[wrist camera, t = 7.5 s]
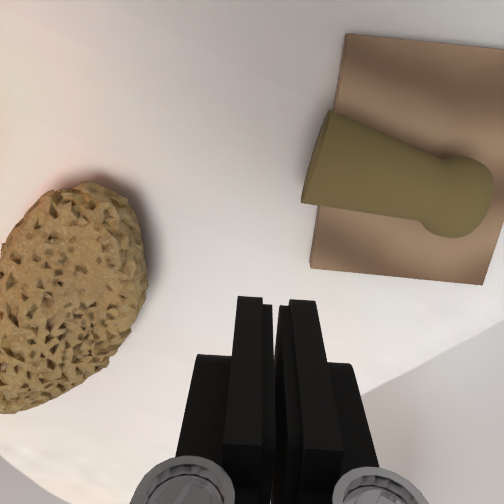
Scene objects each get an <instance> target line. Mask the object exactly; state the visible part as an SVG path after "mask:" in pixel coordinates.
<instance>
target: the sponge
mask: <svg viewBox="0 0 504 504" xmlns="http://www.w3.org/2000/svg"><path fill="white" fill-rule="evenodd" d="M147 287H148V281H147V265H146V263H145V258H144V247H143V242H142V239H141V230H140V226H139V223H138V220H137V216H136V214H135V212H134V210H133V209H132V208H131V206H130V205H129V204H128V198H124V197H123V196H121V195H119V194H118V193H116V192H115V191H113V190H111V189H108V188H106V187H103V186H101V185H99V184H96V183H94V182H92V181H88V182H81V183H80V184H79V185H78V186H76V187H74V188H72V189H64V188H63V189H60V190H58V191H56V192H55V191H54V190H51V191H48V192H47V193H45V194H44V195H42V196H41V197H40V198H39V200H38V201H37V202H36V203H35V204H34V205H33V206H32V207H31V208H30V209H29V210H28V211H27V212H26V214H25V215H24V218H23V219H22V220H21V221H20V222H19V223H17V224H16V225H15V227H14V228H13V230H12V231H11V233H10V234H9V236H8V237H7V240H6V243H3V244H2V249H1V259H0V414H15V413H17V412H18V411H23V410H27V409H30V408H33V407H36V406H39V405H40V404H44V403H46V402H47V401H49V400H52V399H54V398H57V397H58V396H60V395H61V394H64V393H66V392H67V391H69V390H71V389H72V388H74V387H76V386H78V385H80V384H82V383H83V382H84V381H85V380H86V379H87V378H88V377H90V376H91V375H93V374H95V373H97V372H99V371H100V370H101V369H102V368H106V367H107V366H108V364H109V357H110V356H113V355H115V353H116V352H117V349H118V348H119V347H120V346H121V344H122V343H123V342H124V340H125V339H126V338H127V336H128V335H129V334H130V333H131V328H130V327H131V325H132V324H133V323H134V321H135V320H136V318H137V315H138V313H139V311H140V309H141V307H142V305H143V303H144V301H145V294H146V289H147Z"/></svg>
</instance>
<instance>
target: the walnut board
mask: <svg viewBox="0 0 504 504" xmlns="http://www.w3.org/2000/svg"><path fill="white" fill-rule="evenodd" d="M334 112H336V113H338V114H341V115H343V116H345V117H347V118H350V119H352V120H354V121H356V122H359V123H361V124H363V125H365V126H368V127H370V128H372V129H374V130H377V131H379V132H381V133H384V134H386V135H388V136H390V137H393V138H395V139H397V140H399V141H402V142H404V143H406V144H408V145H411V146H413V147H415V148H417V149H420V150H422V151H424V152H426V153H429V154H431V155H433V156H435V157H438V158H440V159H442V160H443V159H446V158H449V157H453V156H465V157H469V158H473V159H475V160H477V161H478V162H480V163H482V164H483V165H485V166H486V167H487V168H488V169H489V170H490V172H491V174H492V176H493V180H494V193H493V199H492V202H491V205H490V208H489V210H488V212H487V214H486V216H485V218H484V219H483V221H482V222H481V224H480V225H479V226H478V227H477V228H476V229H475V230H474V231H473V232H472V233H471V234H468V235H466V236H464V237H460V238H445V237H441V236H438V235H434V234H433V233H431V232H429V231H428V230H426V229H425V228H424V226H423V225H422V224H421V222H420V221H416V220H409V219H403V218H396V217H390V216H383V215H377V214H370V213H364V212H357V211H351V210H344V209H338V208H331V207H325V206H318V211H317V217H316V223H315V229H314V236H313V242H312V248H311V255H310V261H309V262H310V267H311V268H313V269H323V270H333V271H343V272H353V273H364V274H374V275H384V276H394V277H404V278H414V279H424V280H434V281H444V282H454V283H464V284H474V285H483V282H484V279H485V276H486V273H487V270H488V267H489V264H490V261H491V258H492V255H493V252H494V249H495V246H496V243H497V240H498V237H499V234H500V231H501V228H502V225H503V222H504V50H502V49H492V48H482V47H473V46H463V45H453V44H444V43H434V42H424V41H415V40H405V39H395V38H386V37H376V36H366V35H357V34H346V35H345V42H344V48H343V54H342V60H341V67H340V73H339V79H338V85H337V92H336V98H335V104H334Z"/></svg>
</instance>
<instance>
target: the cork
mask: <svg viewBox="0 0 504 504" xmlns="http://www.w3.org/2000/svg"><path fill="white" fill-rule="evenodd" d="M493 193H494V180H493V176H492V174H491V172H490V170H489V169H488V168H487V167H486V166H485V165H483V164H482V163H480V162H478V161H477V160H475V159H473V158H469V157H465V156H453V157H449V158H446V159H443V160H442V159H440V158H438V157H435V156H433V155H431V154H429V153H426V152H424V151H422V150H420V149H417V148H415V147H413V146H411V145H408V144H406V143H404V142H402V141H399V140H397V139H395V138H393V137H390V136H388V135H386V134H384V133H381V132H379V131H377V130H374V129H372V128H370V127H368V126H365V125H363V124H361V123H359V122H356V121H354V120H352V119H350V118H347V117H345V116H343V115H341V114H338V113H336V112H334V111H332V110H329V111H328V113H327V115H326V117H325V119H324V122H323V125H322V127H321V130H320V133H319V136H318V138H317V141H316V144H315V147H314V151H313V154H312V157H311V160H310V164H309V167H308V171H307V174H306V178H305V182H304V186H303V191H302V196H301V203H305V204H312V205H318V206H325V207H331V208H338V209H344V210H351V211H357V212H364V213H370V214H377V215H383V216H390V217H396V218H403V219H409V220H416V221H420V222H421V224H422V225H423V226H424V228H425V229H426V230H428V231H429V232H431V233H433V234H434V235H438V236H441V237H445V238H460V237H464V236H466V235H468V234H471V233H472V232H473V231H474V230H475V229H476V228H477V227H478V226H479V225H480V224H481V222H482V221H483V219H484V218H485V216H486V214H487V212H488V210H489V208H490V205H491V202H492V199H493Z"/></svg>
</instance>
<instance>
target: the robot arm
mask: <svg viewBox="0 0 504 504" xmlns="http://www.w3.org/2000/svg"><path fill="white" fill-rule="evenodd" d="M270 499H271V504H429V503H428V502H427V500H426V499H425V497H424V496H423V494H422V493H421V492H420V491H419V490H418V489H417V488H416V487H415V486H414V485H413V484H412V483H411V482H410V481H408V480H407V479H405V478H403V477H402V476H400V475H398V474H397V473H395V472H392V471H389V470H386V469H383V468H380V467H379V464H378V460H377V456H376V453H375V449H374V445H373V441H372V437H371V434H370V430H369V426H368V422H367V419H366V415H365V411H364V407H363V404H362V400H361V396H360V392H359V389H358V385H357V381H356V377H355V374H354V370H353V367H352V365H351V364H348V363H332V362H327V358H326V353H325V348H324V343H323V337H322V332H321V327H320V322H319V317H318V312H317V306H316V302H315V301H309V300H293V299H290V300H289V305H288V306H283V305H280V306H279V314H278V324H277V335H276V345H275V355H274V350H273V317H272V305H267V304H263V298H261V297H245V296H238V299H237V309H236V319H235V329H234V339H233V349H232V356H220V355H203V354H198V355H197V357H196V361H195V365H194V370H193V375H192V380H191V384H190V389H189V394H188V399H187V403H186V408H185V413H184V418H183V423H182V427H181V432H180V437H179V442H178V446H177V451H176V456H175V458H170V459H168V460H166V461H164V462H162V463H160V464H158V465H156V466H155V467H154V468H152V469H151V470H150V471H149V472H148V473H147V474H146V475H145V476H144V477H143V479H142V480H141V482H140V484H139V485H138V487H137V488H136V491H135V493H134V495H133V497H132V499H131V502H130V504H270Z"/></svg>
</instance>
